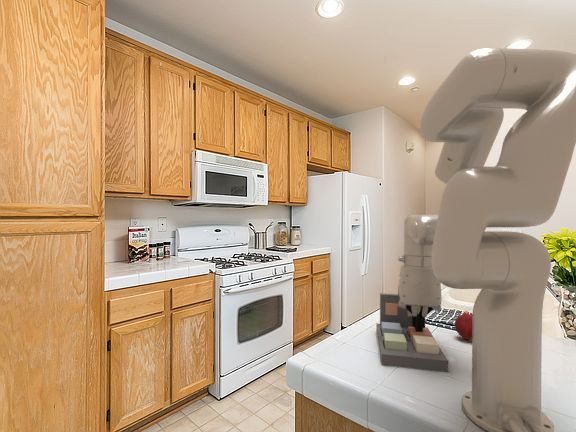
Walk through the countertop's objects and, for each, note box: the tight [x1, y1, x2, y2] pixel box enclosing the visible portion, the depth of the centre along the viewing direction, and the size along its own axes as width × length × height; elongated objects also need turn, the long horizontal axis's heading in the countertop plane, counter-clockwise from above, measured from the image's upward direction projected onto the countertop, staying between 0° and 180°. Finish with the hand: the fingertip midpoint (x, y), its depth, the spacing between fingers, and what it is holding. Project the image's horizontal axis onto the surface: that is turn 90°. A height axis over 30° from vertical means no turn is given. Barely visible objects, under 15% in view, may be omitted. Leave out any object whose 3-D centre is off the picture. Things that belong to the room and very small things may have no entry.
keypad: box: [375, 292, 449, 373], centre depth 77 cm, size 20×14×12 cm
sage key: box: [384, 333, 407, 351], centre depth 74 cm, size 5×5×2 cm
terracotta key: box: [408, 327, 432, 339], centre depth 80 cm, size 5×5×2 cm
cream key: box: [413, 335, 440, 354], centre depth 72 cm, size 5×5×2 cm
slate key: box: [381, 322, 402, 336], centre depth 81 cm, size 5×5×2 cm
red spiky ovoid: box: [454, 310, 473, 341], centre depth 83 cm, size 6×6×8 cm
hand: (418, 329), depth 80 cm, fingers closed
